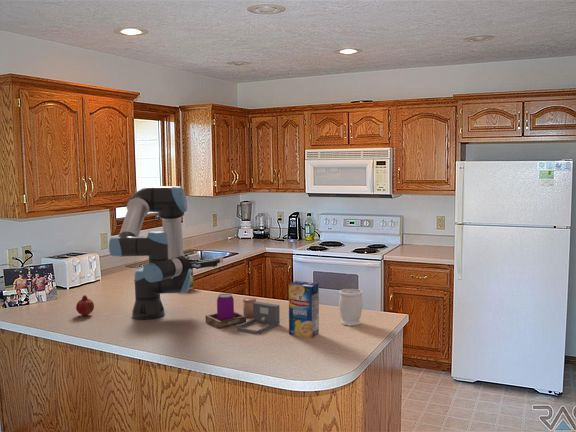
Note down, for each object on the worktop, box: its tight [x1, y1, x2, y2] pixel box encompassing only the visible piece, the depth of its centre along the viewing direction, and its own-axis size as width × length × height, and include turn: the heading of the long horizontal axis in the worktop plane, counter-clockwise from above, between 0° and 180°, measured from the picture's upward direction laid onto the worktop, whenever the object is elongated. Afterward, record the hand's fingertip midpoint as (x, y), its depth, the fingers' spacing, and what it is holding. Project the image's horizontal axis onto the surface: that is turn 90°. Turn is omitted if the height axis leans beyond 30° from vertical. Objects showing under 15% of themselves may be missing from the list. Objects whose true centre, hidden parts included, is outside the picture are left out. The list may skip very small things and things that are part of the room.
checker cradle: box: [236, 301, 281, 335], centre depth 240 cm, size 12×16×9 cm
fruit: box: [75, 294, 95, 317], centre depth 260 cm, size 8×8×10 cm
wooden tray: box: [204, 310, 247, 329], centre depth 248 cm, size 13×14×3 cm
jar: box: [338, 288, 364, 327], centre depth 244 cm, size 11×10×15 cm
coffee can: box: [189, 268, 194, 290], centre depth 316 cm, size 10×10×14 cm
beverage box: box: [288, 280, 320, 339], centre depth 229 cm, size 7×11×22 cm, turn 61°
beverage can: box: [216, 292, 235, 321], centre depth 247 cm, size 8×8×12 cm
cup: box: [242, 297, 257, 319], centre depth 257 cm, size 6×6×8 cm
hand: (210, 257), depth 237 cm, fingers open, 13 cm apart
